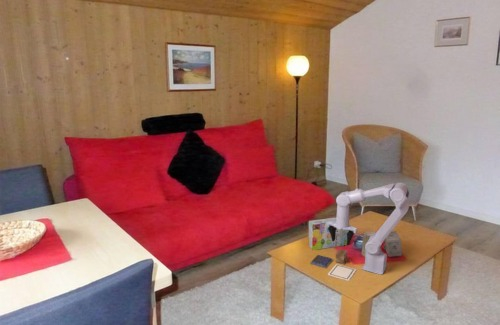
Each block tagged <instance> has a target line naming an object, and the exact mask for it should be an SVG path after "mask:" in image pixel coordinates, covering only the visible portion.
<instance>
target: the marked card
mask: <svg viewBox="0 0 500 325" xmlns="http://www.w3.org/2000/svg"><path fill="white" fill-rule="evenodd" d="M356 271H357V268H356V269H355V268H352V267H348V266H344V265H343V264H339V263H336V264H335V265H334V266H333V267H332V269H330V271H329V272H328V273H327V276H330V277H334V278H337V279H341V280H344V281H347V282H349V281H350V280H351V279H352V277H353V276H354V274H355V273H356Z"/></svg>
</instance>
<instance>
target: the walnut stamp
mask: <svg viewBox="0 0 500 325" xmlns="http://www.w3.org/2000/svg"><path fill="white" fill-rule="evenodd" d="M347 261H348V250H345V249H341V248H338V250H337V252H336V253H335V263H336V264H339V265H345V263H346V262H347Z"/></svg>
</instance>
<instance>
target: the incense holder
mask: <svg viewBox="0 0 500 325" xmlns="http://www.w3.org/2000/svg"><path fill="white" fill-rule="evenodd" d="M382 247H383V250H384V251H386V254H387V257H388V258H391V257H393V258H394V257H402V256H403V250H402V238H401V237H400V235H399V234H398V231H397V230H392V231H391V232H390V234H389V235H388V236H387V237H386V238H385V240H384V245H383V246H382Z"/></svg>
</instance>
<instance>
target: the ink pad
mask: <svg viewBox="0 0 500 325" xmlns="http://www.w3.org/2000/svg"><path fill="white" fill-rule="evenodd" d="M332 262H333V258H331V257H327V256H325V255H321V254H317V255H316V256H315V257H314V258H313V259H312V260H311V261H310V262H309V264H310V265H312V266H315V267H316V266H317V267H319V268H323V269H327V267H328V266H329V265H330V264H331V263H332Z"/></svg>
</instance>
